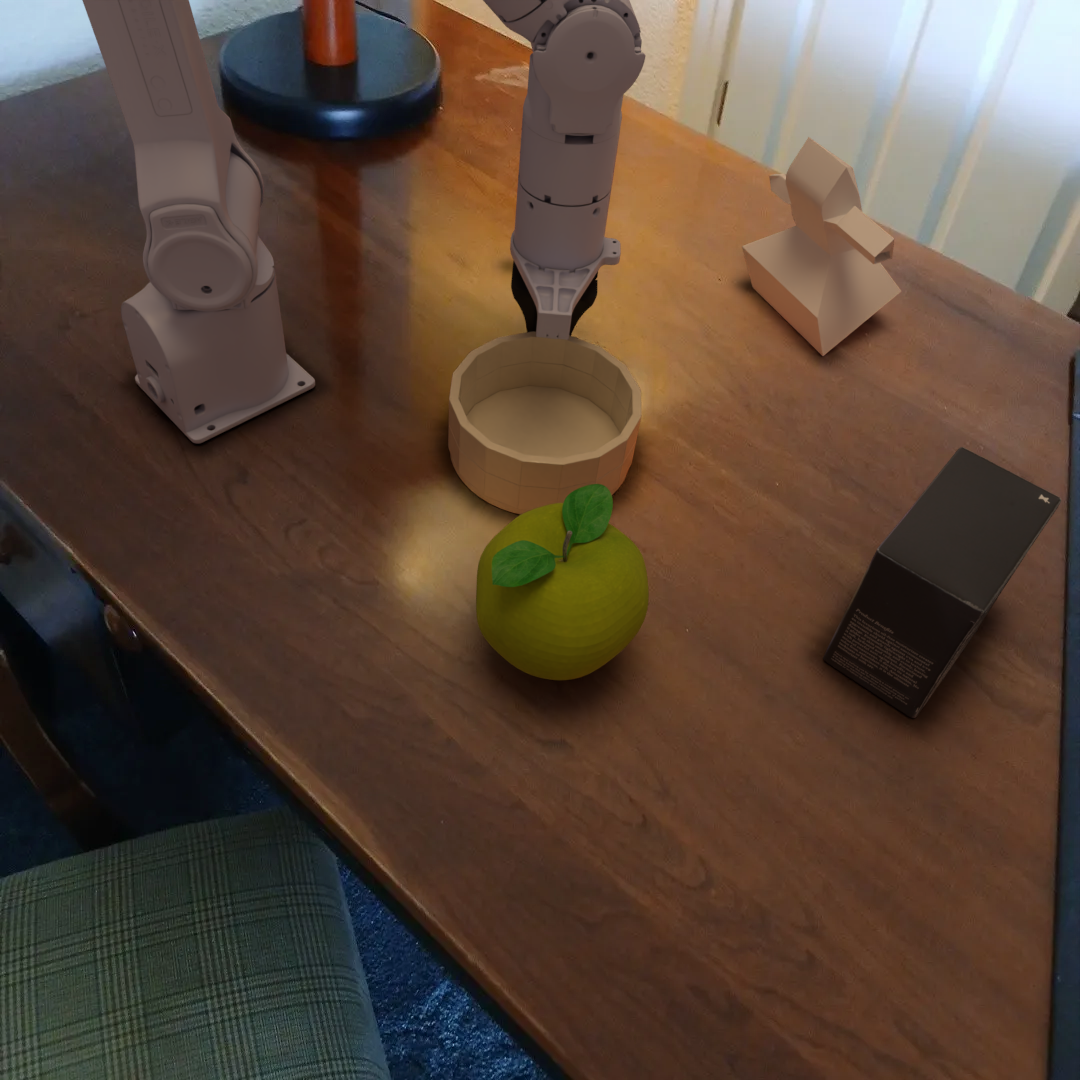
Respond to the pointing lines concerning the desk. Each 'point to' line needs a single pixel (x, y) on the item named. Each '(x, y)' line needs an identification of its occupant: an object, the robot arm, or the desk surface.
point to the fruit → (562, 588)
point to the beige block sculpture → (822, 252)
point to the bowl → (541, 420)
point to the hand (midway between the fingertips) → (546, 353)
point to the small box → (937, 579)
